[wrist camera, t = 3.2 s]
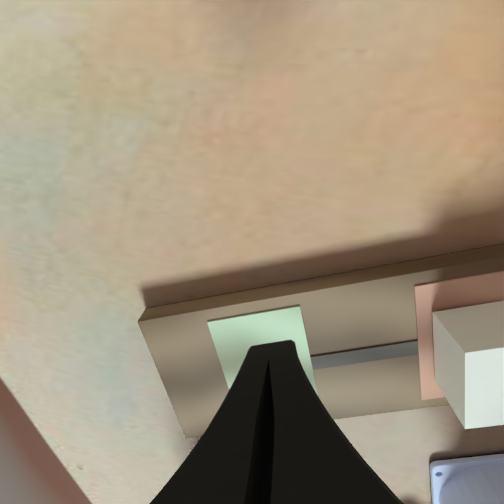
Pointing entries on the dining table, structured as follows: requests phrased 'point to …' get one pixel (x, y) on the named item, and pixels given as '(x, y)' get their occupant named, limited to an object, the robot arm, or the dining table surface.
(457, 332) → the white block
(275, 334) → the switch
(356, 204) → the dining table surface
